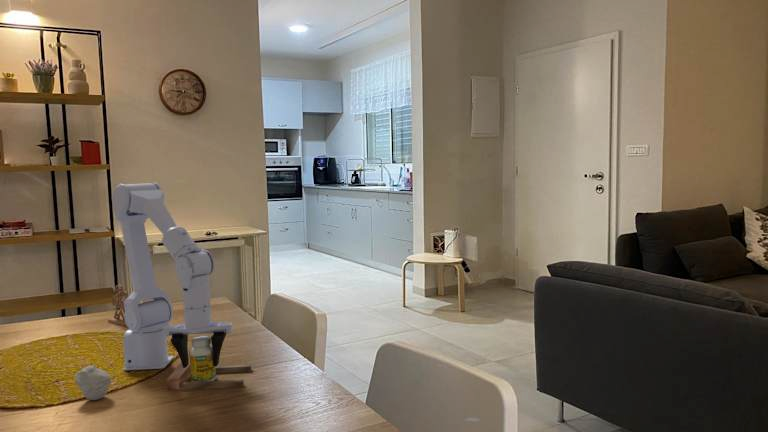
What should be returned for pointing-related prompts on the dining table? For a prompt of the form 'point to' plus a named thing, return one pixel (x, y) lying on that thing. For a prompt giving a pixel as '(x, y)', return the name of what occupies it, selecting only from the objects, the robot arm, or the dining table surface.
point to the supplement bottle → (202, 360)
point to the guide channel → (182, 374)
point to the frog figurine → (93, 382)
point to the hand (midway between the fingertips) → (200, 365)
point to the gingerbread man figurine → (118, 319)
